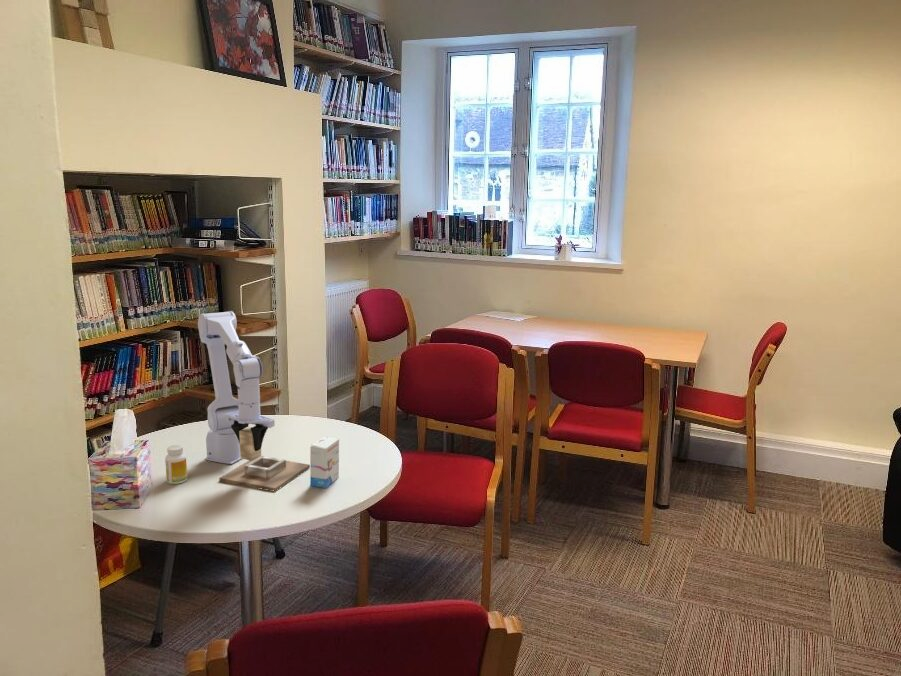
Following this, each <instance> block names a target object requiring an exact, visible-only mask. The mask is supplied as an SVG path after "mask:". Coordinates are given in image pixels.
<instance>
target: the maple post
mask: <svg viewBox="0 0 901 676" xmlns="http://www.w3.org/2000/svg"><path fill="white" fill-rule="evenodd" d="M251 428H252V426H248V427H246V428H244V429H242V430H240V431H239V435H240V460H246V461H249V460H251V461H253V460H255V459H257V458H258V457H260V456H262V448H261V449H260V450H258V451H255V449H254V439H253V435H252V432H251Z"/></svg>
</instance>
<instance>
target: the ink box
mask: <svg viewBox="0 0 901 676" xmlns="http://www.w3.org/2000/svg"><path fill="white" fill-rule="evenodd" d="M309 449H310V451H309V452H310V464H309V465H310V468H309V469H310V475H309V476H310V482H309V483H310V487H315V486H316V487H315V488H321V489H326V487H327V488H328V487H329V486H330V485H332V483H334V482H335V481H336V480H337V479H338V478H339V475H340V474H339V471H340V439H339V438H335V437H329V436H323V437H321V438H319V439H318V440H316V441H314V443H312V444H311V446H310V448H309Z"/></svg>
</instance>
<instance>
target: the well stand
mask: <svg viewBox="0 0 901 676" xmlns="http://www.w3.org/2000/svg"><path fill="white" fill-rule="evenodd" d="M308 468H309V469H310V464H307V463H301V462H295V461H290V460H286V459H282V458H276V457H270V456H265V455H261V456H260V457H258V458H257V459H255V460H253V461H251V460H246V462H243V464H241V465H239V466H237V467H235V468H234V469H231V470H230V471H228V472H227V473H225V474H223V475H222V476H220V477H219V478H218V479H219V482H221V483H226V484H231V483H232V485H237V486H242V485H243V486H244V487H248V486H249V487H248V488H253V487H255V488H254V489H258V488H262V489H261V490H264V489H268V490H267V491H269V490H274V491H276V490H277V489H278V490H280V489H281V488H283V487H285V486H286V485H287V484H289V483H290V482H291V480H292V481H293V480H294V479H296V478H297V477H299V476H301V475H302V474H303V473H304V471H305V472H306V471H307V470H309V469H308ZM301 473H302V474H301ZM298 475H299V476H298ZM288 482H289V483H288ZM285 484H286V485H285ZM243 486H242V487H243ZM282 486H283V487H282ZM280 487H281V488H280ZM279 488H280V489H279ZM278 490H277V491H278ZM274 491H273V492H274ZM277 491H276V492H277Z"/></svg>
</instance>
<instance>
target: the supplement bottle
mask: <svg viewBox="0 0 901 676" xmlns="http://www.w3.org/2000/svg"><path fill="white" fill-rule="evenodd" d="M166 450H167V454H166V456H165V458H164V461H165V476H166V482H167V483H168V484H170V485H178V484H179V485H180V484H182V483H185V482H186V481H187V480H188V471H187V470H188V468H187V465H188V464H187V455H186V454H185V452H184V447H183V446H182V445H180V444H176V445H175V444H174V445H169V446H168V447H167V449H166Z"/></svg>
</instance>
